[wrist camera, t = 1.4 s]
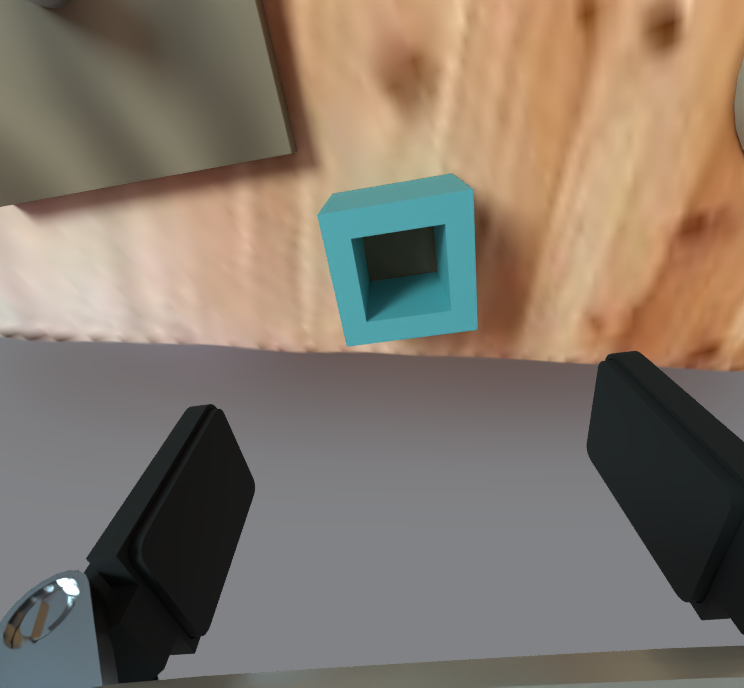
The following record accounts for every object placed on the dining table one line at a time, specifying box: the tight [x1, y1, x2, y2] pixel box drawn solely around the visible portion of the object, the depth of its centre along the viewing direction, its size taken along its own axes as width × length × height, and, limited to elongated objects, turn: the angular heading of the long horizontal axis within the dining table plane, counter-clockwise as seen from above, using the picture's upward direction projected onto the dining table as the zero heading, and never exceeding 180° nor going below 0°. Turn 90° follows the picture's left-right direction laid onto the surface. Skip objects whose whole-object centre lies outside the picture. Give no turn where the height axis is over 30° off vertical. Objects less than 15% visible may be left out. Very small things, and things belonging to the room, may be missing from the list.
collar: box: [317, 174, 478, 346], centre depth 22 cm, size 7×7×6 cm
